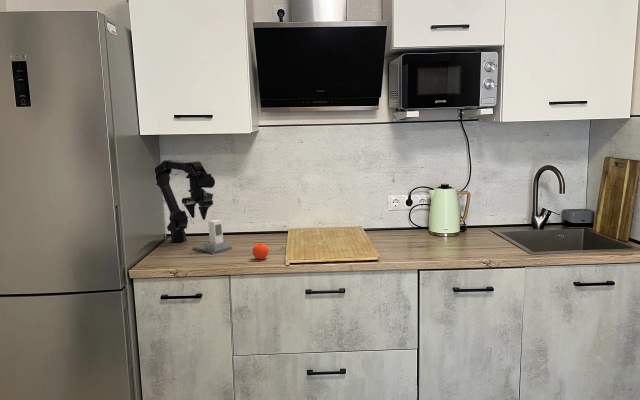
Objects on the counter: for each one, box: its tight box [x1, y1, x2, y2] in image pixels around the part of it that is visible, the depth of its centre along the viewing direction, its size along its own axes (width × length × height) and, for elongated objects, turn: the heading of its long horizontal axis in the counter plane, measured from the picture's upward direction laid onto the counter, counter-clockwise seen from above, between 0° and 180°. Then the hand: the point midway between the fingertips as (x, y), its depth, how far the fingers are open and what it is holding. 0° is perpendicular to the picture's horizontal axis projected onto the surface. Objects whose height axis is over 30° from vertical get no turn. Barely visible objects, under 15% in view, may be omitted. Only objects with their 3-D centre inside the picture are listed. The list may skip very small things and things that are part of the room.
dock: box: [192, 239, 233, 255], centre depth 232 cm, size 16×11×4 cm
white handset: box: [207, 219, 224, 244], centre depth 229 cm, size 5×4×13 cm
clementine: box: [252, 242, 269, 260], centre depth 212 cm, size 8×7×7 cm
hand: (198, 218), depth 242 cm, fingers open, 9 cm apart
